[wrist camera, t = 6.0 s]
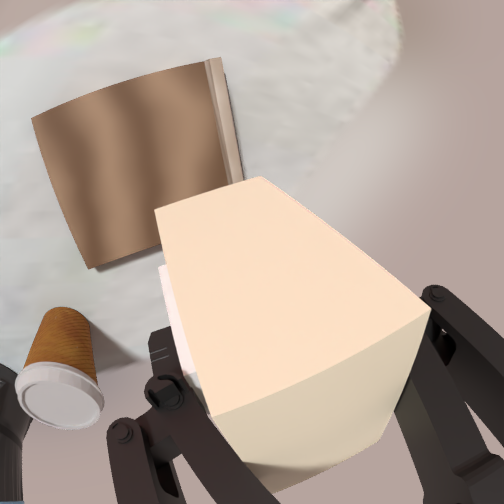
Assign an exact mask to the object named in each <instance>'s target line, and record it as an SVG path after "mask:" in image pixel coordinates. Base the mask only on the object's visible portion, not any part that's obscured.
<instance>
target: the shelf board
mask: <svg viewBox="0 0 504 504" xmlns="http://www.w3.org/2000/svg"><path fill="white" fill-rule="evenodd" d="M31 120H32V124H33V127H34V131H35V134H36V138H37V141H38V144H39V148H40V151H41V154H42V157H43V160H44V163H45V166H46V169H47V172H48V175H49V178H50V181H51V183H52V186H53V189H54V192H55V194H56V197H57V199H58V202H59V204H60V207H61V209H62V212H63V214H64V217H65V219H66V222H67V224H68V226H69V229H70V231H71V233H72V236H73V238H74V240H75V242H76V244H77V247H78V249H79V251H80V253H81V255H82V257H83V259H84V261H85V264H86V266H87V268H88V269H91V268H94V267H96V266H99V265H102V264H105V263H108V262H110V261H113V260H116V259H119V258H122V257H124V256H127V255H130V254H133V253H136V252H139V251H142V250H144V249H147V248H150V247H153V246H156V245H159V244H161V239H160V235H159V230H158V225H157V221H156V216H155V211H154V210H155V209H157V208H160V207H163V206H166V205H169V204H172V203H175V202H178V201H181V200H184V199H187V198H190V197H193V196H196V195H199V194H202V193H205V192H208V191H212V190H215V189H218V188H221V187H224V186H228V185H231V184H234V183H238V182H241V181H244V175H243V169H242V164H241V158H240V153H239V147H238V141H237V136H236V130H235V125H234V119H233V114H232V108H231V103H230V97H229V92H228V86H227V81H226V75H225V73H224V70H223V65H222V59H221V57H218V58H212V59H208V60H206V61H204V62H198V63H194V64H189V65H184V66H180V67H175V68H171V69H167V70H163V71H159V72H155V73H151V74H148V75H144V76H140V77H137V78H134V79H130V80H127V81H124V82H121V83H118V84H114V85H111V86H108V87H106V88H103V89H100V90H97V91H94V92H92V93H89V94H86V95H84V96H81V97H78V98H76V99H73V100H71V101H69V102H66V103H64V104H61V105H59V106H57V107H54V108H52V109H50V110H48V111H46V112H43V113H41V114H39V115H37V116H35V117H33V118H31Z"/></svg>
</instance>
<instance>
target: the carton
mask: <svg viewBox="0 0 504 504" xmlns="http://www.w3.org/2000/svg"><path fill="white" fill-rule="evenodd" d="M154 211H155V216H156V221H157V225H158V230H159V235H160V239H161V244H162V248H163V252H164V257H165V261H166V265H167V269H168V273H169V277H170V281H171V285H172V289H173V293H174V297H175V301H176V304H177V308H178V312H179V315H180V319H181V323H182V326H183V330H184V333H185V337H186V340H187V343H188V347H189V350H190V353H191V357H192V360H193V363H194V366H195V369H196V373H197V376H198V379H199V382H200V385H201V388H202V391H203V394H204V397H205V400H206V403H207V406H208V409H209V411H210V414H211V417H212V419H213V420H214V422H215V423H216V425H217V426H218V428H219V429H220V431H221V432H222V434H223V435H224V436H225V438H226V439H227V441H228V442H229V444H230V445H231V446H232V448H233V449H234V451H235V452H236V453H237V455H238V456H239V457H240V459H241V460H242V462H244V463H245V465H246V466H247V467H248V468H249V469H250V470H251V472H252V473H253V474H254V475H255V476H256V477H257V478H258V480H259V481H260V482H261V483H262V484H263V485H264V486H265V487H266V489H267V490H268V491H269V492H270V493H271V494H273V493H276V492H278V491H281V490H283V489H286V488H288V487H291V486H293V485H295V484H298V483H300V482H302V481H304V480H307V479H309V478H311V477H313V476H315V475H317V474H319V473H321V472H324V471H326V470H328V469H330V468H331V467H333V466H335V465H337V464H339V463H341V462H343V461H345V460H347V459H349V458H350V457H352V456H354V455H356V454H357V453H359V452H361V451H363V450H364V449H366V448H367V447H369V446H371V445H373V444H374V443H376V442H378V441H379V440H380V438H381V436H382V434H383V432H384V430H385V428H386V426H387V424H388V422H389V420H390V418H391V415H392V413H393V411H394V409H395V407H396V404H397V402H398V400H399V398H400V395H401V393H402V391H403V388H404V386H405V383H406V381H407V378H408V376H409V373H410V371H411V368H412V365H413V363H414V360H415V357H416V355H417V352H418V349H419V346H420V343H421V340H422V337H423V334H424V331H425V328H426V325H427V321H428V318H429V315H430V311H431V308H430V307H429V306H428V305H427V304H425V303H424V302H423V301H422V300H421V299H420V298H419V297H417V296H416V295H415V294H414V293H413V292H412V291H410V290H409V289H408V288H407V287H406V286H404V285H403V284H402V283H401V282H400V281H399V280H397V279H396V278H395V277H393V275H391V274H390V273H389V272H388V271H386V270H385V269H384V268H383V267H382V266H380V265H379V264H378V263H377V262H375V261H374V260H373V259H372V258H370V257H369V256H368V255H367V254H365V253H364V252H363V251H361V250H360V249H359V248H358V247H356V246H355V245H354V244H353V243H351V242H350V241H349V240H348V239H346V238H345V237H344V236H342V235H341V234H340V233H338V232H337V231H336V230H335V229H333V228H332V227H331V226H329V225H328V224H327V223H325V222H324V221H323V220H321V219H320V218H319V217H317V216H316V215H315V214H313V213H312V212H311V211H309V210H308V209H307V208H305V207H304V206H303V205H301V204H300V203H298V202H297V201H296V200H294V199H293V198H291V197H290V196H289V195H287V194H286V193H285V192H283V191H282V190H280V189H279V188H277V187H276V186H275V185H273V184H272V183H270V182H269V181H268V180H266V179H265V178H263V177H262V176H258V177H255V178H251V179H248V180H244V181H241V182H238V183H234V184H231V185H228V186H224V187H221V188H218V189H215V190H212V191H208V192H205V193H202V194H199V195H196V196H193V197H190V198H187V199H184V200H181V201H178V202H175V203H172V204H169V205H166V206H163V207H160V208H157V209H155V210H154Z"/></svg>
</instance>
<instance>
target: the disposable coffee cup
mask: <svg viewBox="0 0 504 504" xmlns="http://www.w3.org/2000/svg"><path fill="white" fill-rule="evenodd" d="M94 365H95V364H94V359H93V351H92V344H91V336H90V326H89V323H88V321H87V320H86V318H85V317H84V316H83V315H82V314H80V313H79V312H77V311H76V310H74V309H71V308H67V307H56V308H53V309H51V310H49V311H48V312H47V313H46V314H45V315H44V317H43V320H42V322H41V324H40V327H39V329H38V331H37V334H36V336H35V339H34V341H33V344H32V346H31V349H30V351H29V354H28V357H27V360H26V362H25V365H24V368H23V370H22V371H21V372H20V373H19V374H18V376H17V378H16V381H15V389H16V393H17V395H18V401H19V403H20V406H21V407H22V408H23V410H24V411H25V412H26V413H27V414H28V415H29V416H31V417H32V418H34V419H35V420H37V421H39V422H40V423H43V424H45V425H47V426H51V427H54V428H59V429H66V430H76V429H83V428H86V427H89V426H91V425H93V424H94V423H95V422H96V421H97V420H98V419H99V416H100V413H101V411H102V409H103V407H104V397H103V394H102V392H101V390H100V388H99V387H98V384H97V379H96V378H97V377H96V371H95V366H94Z"/></svg>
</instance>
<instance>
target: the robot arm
mask: <svg viewBox="0 0 504 504" xmlns="http://www.w3.org/2000/svg"><path fill="white" fill-rule="evenodd" d="M158 269H159V274H160V279H161V284H162V289H163V294H164V298H165V303H166V307H167V312H168V316H169V321H170V325H171V326H169V327H166V328H163V329H160V330H157V331H154V332H152V333H151V335H150V338H149V341H148V346H149V353H150V359H151V362H152V363H151V364H152V369H153V377H152V378H150V379H149V381H148V382H147V384H146V385H145V390H144V394H145V397H146V399H147V400H148V402H149V403H150V404H151V405H152V408H151V409H150V410H148V411H147V412H146V413H145V414H143V415H141V416H140V417H138V418H137V419H136V420H134V419H131V418H128V417H127V418H126V417H125V418H119V419H117V420H115V421H114V422H113V423H112V424H111V425H110V426H109V429H108V430H107V437H106V439H107V446H108V453H109V460H110V465H111V472H112V477H113V483H114V488H115V493H116V497H117V502H118V504H186V501H185V498H184V495H183V492H182V489H181V486H180V483H179V480H178V477H177V474H176V470H175V467H174V464H173V461H172V460H173V459H174V458H175V457H177V456H179V455H180V454H183V456H184V458H185V459H186V461H187V462H188V464H189V465H190V466H191V468H192V470H193V471H194V473H195V474H196V476H197V477H198V478H199V480H200V481H201V483H202V484H203V486H204V487H205V488H206V490H207V491H208V492H209V494H210V495H211V497H212V498H213V499H214V501H215V502H216V503H217V504H280V503H279V501H278V500H277V499H276V498H275V497H274V496H273V495H272V494H271V493H270V492H269V491H268V490H267V489H266V487H265V486H264V485H263V484H262V483H261V482H260V481H259V480H258V478H257V477H256V476H255V475H254V474H253V473H252V472H251V470H250V469H249V468H248V467H247V466H246V465H245V463H244V462H242V460H241V459H240V457H239V456H238V455H237V454H236V452H235V451H234V450H233V449H232V448H231V446H230V445H229V444H228V442H227V441H226V440H225V439H224V437H223V436H222V435H221V434H220V432H219V431H218V430H217V428H216V427H215V426H214V424H213V423H212V422H211V420H210V419H209V418H208V416H207V414H210V411H209V409H208V406H207V403H206V400H205V397H204V394H203V391H202V388H201V385H200V382H199V379H198V376H197V373H196V369H195V366H194V363H193V360H192V357H191V353H190V350H189V347H188V343H187V340H186V337H185V333H184V330H183V326H182V323H181V319H180V315H179V312H178V308H177V304H176V301H175V297H174V293H173V289H172V285H171V281H170V277H169V273H168V269H167V265H166V264H165V265H162V266H160V267H158ZM419 298H420V299H421V300H422V301H423V302H424V303H425V304H427V305H428V306H429V307H430V308H431V311H430V315H429V318H428V321H427V325H426V328H425V331H424V334H423V337H422V340H421V343H420V346H419V349H418V352H417V355H416V357H415V360H414V363H413V365H412V368H411V371H410V373H409V376H408V378H407V381H406V383H405V386H404V388H403V391H402V393H401V395H400V398H399V400H398V402H397V404H396V407H395V409H394V413H395V415H396V418H397V420H398V423H399V425H400V428H401V431H402V433H403V436H404V438H405V441H406V443H407V446H408V449H409V451H410V454H411V457H412V459H413V462H414V465H415V468H416V470H417V473H418V476H419V479H420V482H421V485H422V487H423V491H424V498H423V504H504V460H503V459H502V458H501V457H500V456H499V455H496V454H491V453H490V452H489V450H488V449H487V446H486V444H485V442H484V440H483V438H482V436H481V434H480V431H479V429H478V427H477V425H476V423H475V421H474V419H473V417H472V415H471V413H470V411H469V409H468V407H467V405H466V403H467V404H468V405H469V406H470V408H471V409H472V410H473V411H474V412H475V413H476V415H477V416H478V417H479V418H480V419H481V420H482V422H483V423H484V424H485V425H486V426H487V428H488V429H489V430H490V431H491V432H492V434H493V435H494V436H495V437H496V438H497V440H498V441H499V442H500V443H501V444H502V446H503V447H504V338H502V337H501V336H500V335H499V334H498V333H497V332H496V331H495V330H494V329H493V328H492V327H491V326H489V325H488V324H487V323H486V322H485V321H484V320H483V319H482V318H480V317H479V316H478V315H477V314H476V313H475V312H474V311H472V310H471V309H470V308H469V307H468V306H467V305H466V304H464V303H463V302H462V301H461V300H460V299H459V298H457V297H456V296H455V295H454V294H453V293H451V292H450V291H449V290H448V289H446V288H445V287H443V286H440V285H430V286H427V287H426V288H425V289H424V290H423V293H422V297H419ZM442 329H444V331H445V332H446V333H445V332H443V331H442ZM17 376H18V375H17V374H15V373H14V372H13V371H11V370H10V369H8V368H6V367H5V366H3V365H1V364H0V504H24V501H23V490H22V443H23V440H24V438H25V435H26V433H27V431H28V429H29V426H30V423H31V422H32V420H33V418H32V417H31V416H29V415H28V414H27V413H26V412H25V411H24V410H23V408H22V407H21V406H20V403H19V401H18V395H17V393H16V389H15V381H16V378H17ZM465 402H466V403H465ZM206 412H207V413H206Z"/></svg>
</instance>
